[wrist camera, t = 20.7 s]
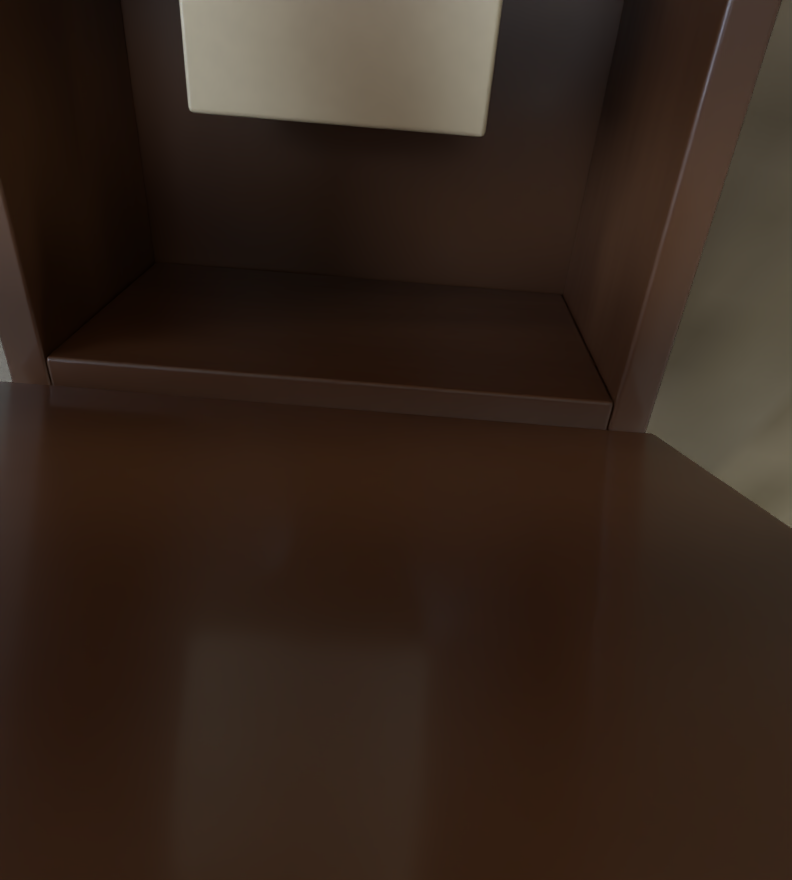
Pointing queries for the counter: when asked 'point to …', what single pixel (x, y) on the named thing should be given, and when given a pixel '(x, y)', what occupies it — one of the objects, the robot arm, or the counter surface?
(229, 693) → the lid
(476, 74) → the block
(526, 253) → the chest
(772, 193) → the counter surface
